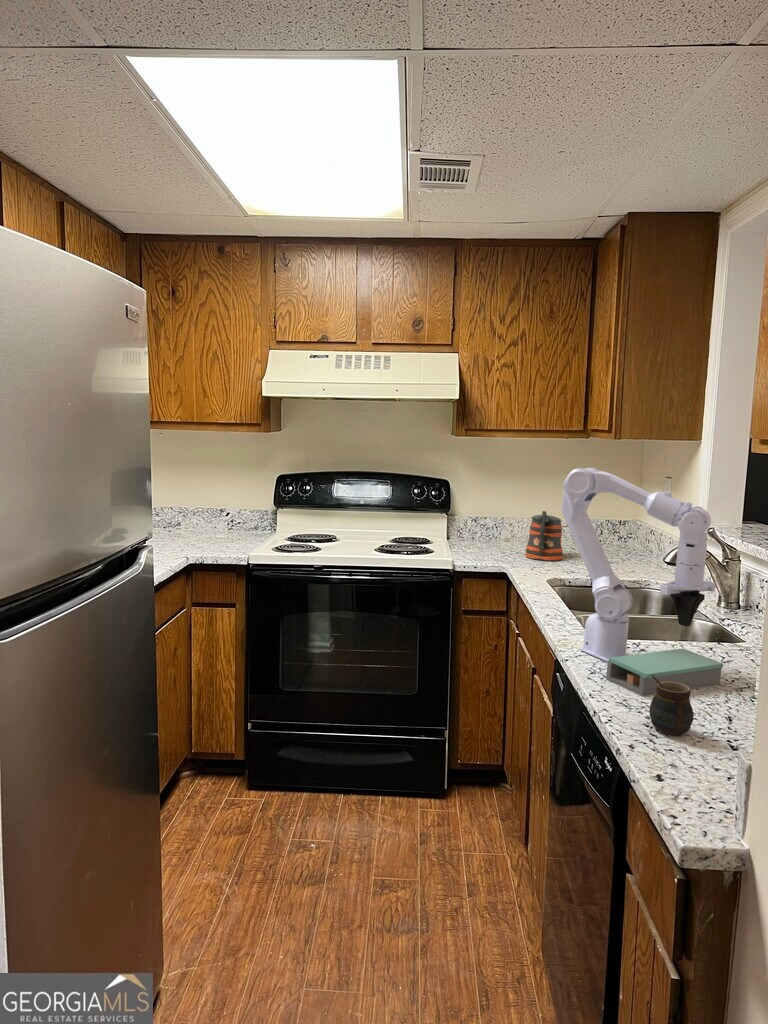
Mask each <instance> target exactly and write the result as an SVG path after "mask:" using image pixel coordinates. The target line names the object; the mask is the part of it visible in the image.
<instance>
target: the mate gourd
mask: <svg viewBox="0 0 768 1024" xmlns="http://www.w3.org/2000/svg"><path fill="white" fill-rule="evenodd" d="M651 675H652V674H651ZM652 677H653V678H654V679H655V681H656V682H657V683H658V684H657V688H656V692H657V693H656V694H654V696H653V698H652V699H651V702H650V705H649V718H650V722H651V724H652V726H653V727H655V729H656V730H657V731H659V732H660V733H662V734H666V735H670V736H671V735H672V736H674V737H678V736H682V735H683V734H686V733H687V732H689V730H690V729H691V727H692V725H693V722H694V718H695V717H694V716H695V714H694V710H693V706H692V704H691V699H690V698H691V689H690V688H689V687H688V686H686V685H684V684H681V683H677V682H670V681H665V682H659V681H658V680H657V679H656V678H655V676H654V675H652Z"/></svg>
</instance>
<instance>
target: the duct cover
mask: <svg viewBox="0 0 768 1024" xmlns="http://www.w3.org/2000/svg"><path fill="white" fill-rule="evenodd" d="M609 662H611V663H613V664H616V665H618V666H620V667H622V668H625V669H627V670H629V671H631V672H633V673H636V674H638V675H640V676H642V677H645V678H652V675H654V676H655V677H659V676H666V675H673V674H680V673H687V672H694V671H701V670H708V669H715V668H723V667H724V663H722V662H721V661H717V660H715V659H713V658H709V657H707V656H704V655H701V654H698V653H697V652H694V651H691V650H689V649H686V648H676V649H668V650H659V651H651V652H643V653H642V652H641V653H636V654H635V653H634V654H628V655H626V656H618V657H610V658H609ZM651 674H652V675H651Z"/></svg>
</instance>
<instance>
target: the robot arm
mask: <svg viewBox="0 0 768 1024" xmlns="http://www.w3.org/2000/svg"><path fill="white" fill-rule="evenodd" d="M562 490H563V494H562V495H563V496H562V504H561V513H562V514H561V515H562V516H563V518H564V521H565V522H566V523H565V524H566V525H567V526H568V527H567V528H568V530H569V532H570V534H571V536H572V538H573V541H574V543H575V545H576V547H577V550H578V552H579V555H580V557H581V559H582V562H583V563H584V566H585V569H586V571H587V572H588V576H589V577H590V579H591V582H592V596H593V597H594V610H595V613H592V614H591V615H589V616H588V617H587V619H586V621H585V624H584V632H583V634H584V635H583V643H582V644H583V645H582V646H583V647H581V648H580V649H579V650H580V651H582V652H584V653H585V654H589V655H591V656H592V657H595V658H597V659H600V660H602V661H604V662H607V663H608V662H609V658H610V657H618V656H626V655H629V654H627V644H628V635H629V623H630V616H628V613H627V612H628V611H630V609H631V608H632V606H633V603H634V600H633V596H632V593H631V592H630V591H629V590H628V589H627V588H625V587H624V585H623V584H622V583H623V582H621V579H620V578H619V577H618V576H617V575H616V574H615V573H614V571H613V568H612V566H611V563H610V562H609V561H610V560H609V559H608V556H607V555H606V552H605V550H604V548H603V546H602V544H601V541H600V539H599V536H598V535H597V532H596V531H595V527H594V526H593V524H592V521H591V519H590V517H589V514H588V512H587V511H588V509H589V507H590V505H591V503H592V500H593V499H594V498H595V496H596V495H597V494H602V493H605V494H606V493H612V494H613V495H616V496H619V497H622V498H623V499H626V500H628V501H631V502H632V503H635V504H638V505H640V506H643V507H644V509H645V510H646V514H647V515H648V516H650V517H652V518H654V519H656V520H659V521H661V522H663V523H666V524H667V525H669V526H671V527H674V528H676V527H677V528H678V530H679V531H680V532H679V540H678V543H677V550H676V551H677V552H676V555H677V556H676V562H675V573H674V581H670V582H666V583H664V584H662V583H661V584H660V586H659V587H660V588H659V593H660V594H661V595H665V596H670V597H671V599H672V602H673V605H674V607H675V611H676V616H677V621H678V625H681V626H684V627H690V626H691V625H692V622H693V619H694V618H695V614H696V612H697V610H698V609H699V606H700V605H701V604H702V603H703V601H704V600H705V596H706V595H705V594H704V593H701V592H711V593H712V592H715V590H716V584H717V583H716V582H714V581H709V580H704V579H705V578H704V577H705V567H706V560H707V549H708V543H707V541H708V532H707V531H708V530H709V529H710V526H711V524H712V518H711V515H710V513H709V511H707V510H706V509H704V508H702V506H693V502H690V501H687V502H685V501H682V500H681V499H678V498H676V497H674V496H673V495H672V492H669V491H668V490H666V491H664V492H663V491H661V490H660V491H656V492H653V493H651V492H649V491H647V490H646V489H645V490H644V489H643V488H640V487H639V486H637V485H634V484H632V483H630V482H629V481H626V480H625V479H623V478H621V477H619V476H617V475H616V474H615V475H614V474H612V473H609V472H607V471H604V470H599V469H598V468H596V467H586V468H579V467H578V468H574V469H573V470H571V471H569V473H568V474H567V476H566V478H565V480H564V481H563V483H562ZM692 506H693V507H692Z"/></svg>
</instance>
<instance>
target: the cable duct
mask: <svg viewBox="0 0 768 1024" xmlns="http://www.w3.org/2000/svg"><path fill="white" fill-rule="evenodd" d="M722 668H723V667H722ZM722 668H715V669H708V670H701V671H694V672H687V673H680V674H673V675H666V676H659V677H655V678H656V679H657V680H658V681H659V682H665V681H670V682H677V683H681V684H684V685H686V686H688V687H689V688H690V689H696V688H697V689H699V688H704V687H709V686H715V685H720V684H721V678H722ZM605 677H606V678H605V680H607V681H608V682H610V683H613V684H615V685H617V686H619V687H622V688H624V689H626V690H628V691H631V692H632V693H633V694H637V695H638V696H641V697H646V696H647V697H648V696H652V695H654V696H655V695H656V693H657V692H656V688H657V684H658V683H657V682H656V681H655V679H654V678H653V677H652V678H645V677H642V676H640V675H638V674H636V673H633V672H631V671H629V670H627V669H625V668H622V667H620V666H618V665H616V664H613V663H611V662H607V667H606V676H605Z"/></svg>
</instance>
